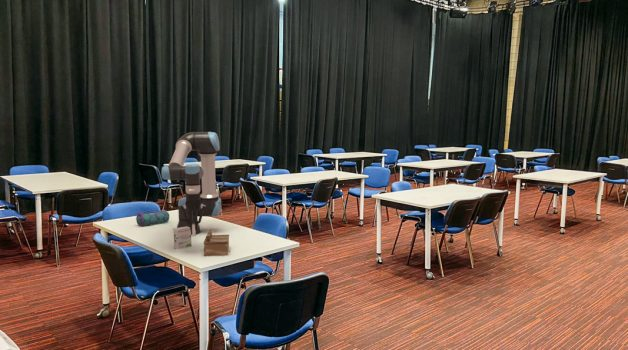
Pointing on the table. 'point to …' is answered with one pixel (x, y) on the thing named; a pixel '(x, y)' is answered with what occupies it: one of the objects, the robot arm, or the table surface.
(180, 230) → the ink box
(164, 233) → the table surface
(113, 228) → the table surface
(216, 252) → the oak box
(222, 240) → the lid
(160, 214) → the pencil case
